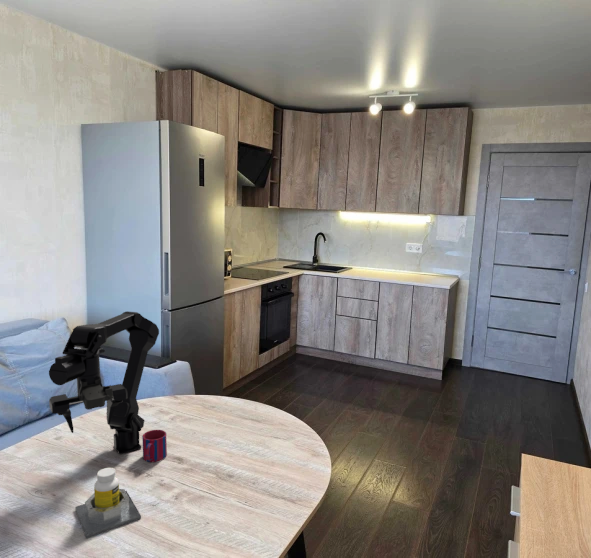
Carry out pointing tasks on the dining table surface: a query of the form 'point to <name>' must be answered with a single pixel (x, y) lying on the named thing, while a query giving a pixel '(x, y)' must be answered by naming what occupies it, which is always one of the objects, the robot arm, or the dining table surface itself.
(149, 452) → the mug
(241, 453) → the dining table surface
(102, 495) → the supplement bottle
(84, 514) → the collar
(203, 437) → the dining table surface
